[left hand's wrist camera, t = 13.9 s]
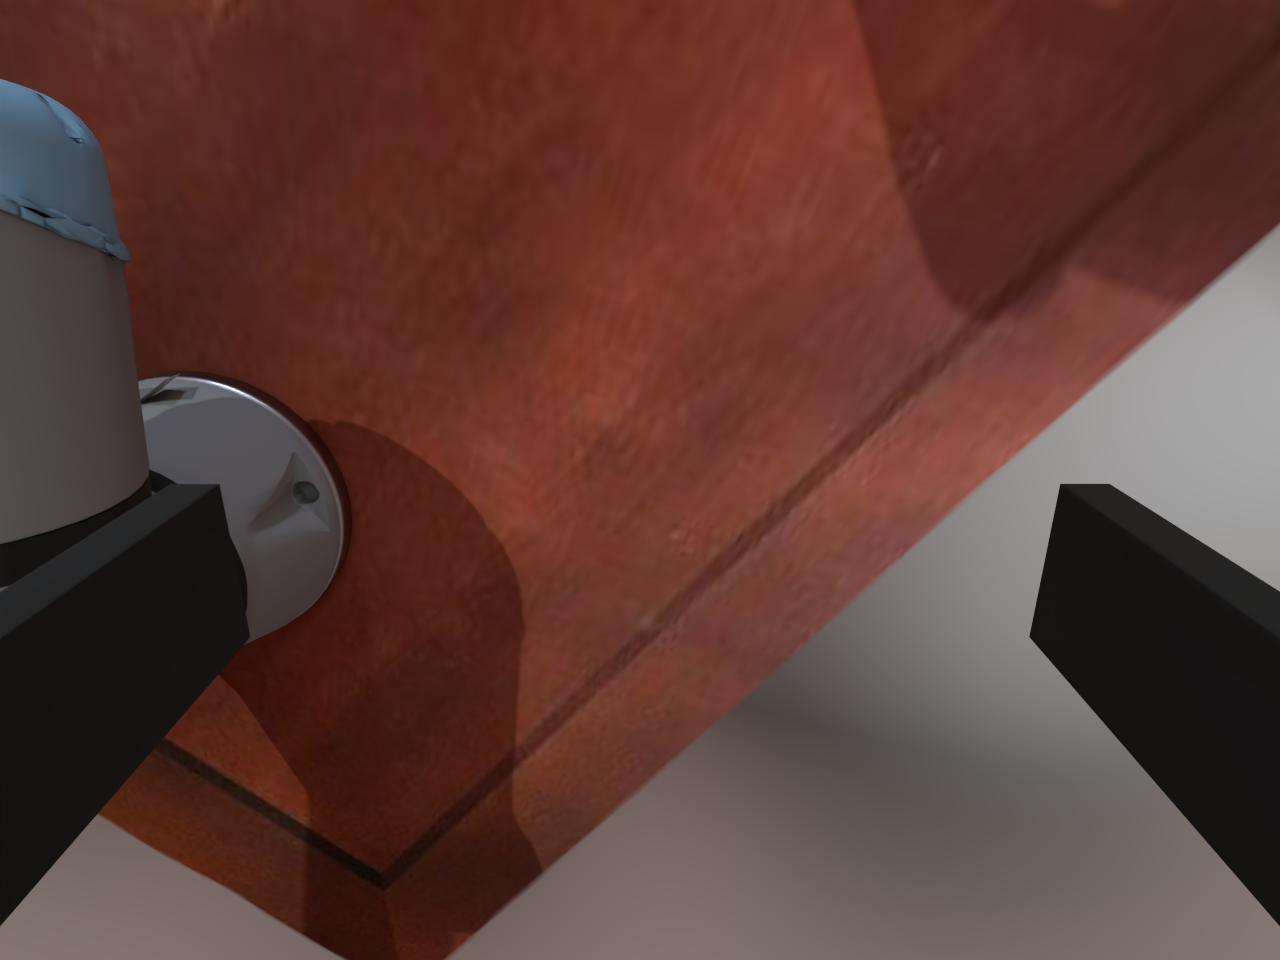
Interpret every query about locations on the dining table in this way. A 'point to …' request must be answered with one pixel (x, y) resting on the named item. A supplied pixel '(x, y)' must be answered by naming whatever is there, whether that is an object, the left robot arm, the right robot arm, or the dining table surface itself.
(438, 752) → the dining table surface
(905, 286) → the dining table surface
